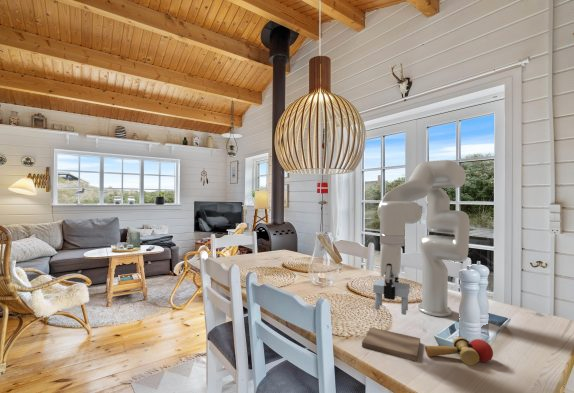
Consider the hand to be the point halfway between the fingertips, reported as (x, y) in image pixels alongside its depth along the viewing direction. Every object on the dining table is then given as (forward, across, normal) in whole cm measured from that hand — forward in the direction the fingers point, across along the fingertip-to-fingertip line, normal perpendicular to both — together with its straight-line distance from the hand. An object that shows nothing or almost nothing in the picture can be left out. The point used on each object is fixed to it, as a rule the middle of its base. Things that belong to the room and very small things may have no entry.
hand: (391, 294), depth 94 cm
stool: (+5, 0, 0) cm, 5 cm away
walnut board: (+16, 0, 0) cm, 16 cm away
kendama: (+17, -2, +19) cm, 25 cm away
